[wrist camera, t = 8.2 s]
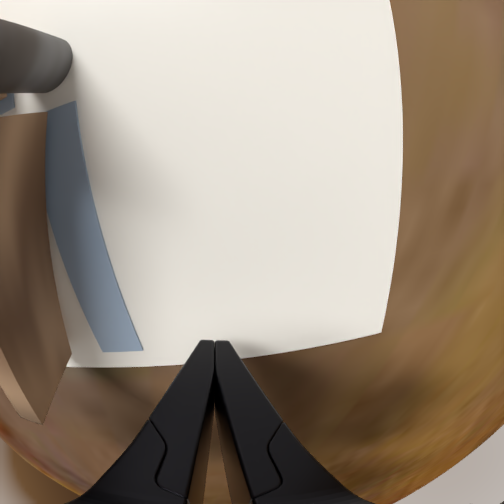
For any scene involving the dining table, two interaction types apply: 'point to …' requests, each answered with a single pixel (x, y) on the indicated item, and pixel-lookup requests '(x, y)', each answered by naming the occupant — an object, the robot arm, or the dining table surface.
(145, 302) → the card
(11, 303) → the fold panel
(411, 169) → the dining table surface
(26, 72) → the fixed panel
